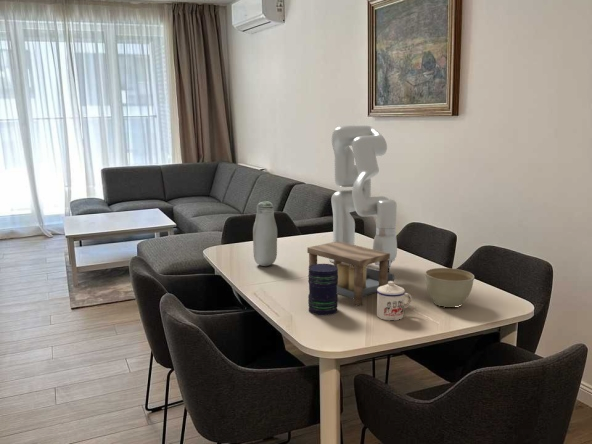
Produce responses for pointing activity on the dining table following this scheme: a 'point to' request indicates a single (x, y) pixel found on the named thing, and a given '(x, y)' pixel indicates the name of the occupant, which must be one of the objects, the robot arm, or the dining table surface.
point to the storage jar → (323, 289)
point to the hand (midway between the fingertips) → (384, 277)
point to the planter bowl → (449, 286)
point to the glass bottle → (265, 235)
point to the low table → (352, 262)
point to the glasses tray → (365, 291)
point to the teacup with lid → (391, 301)
